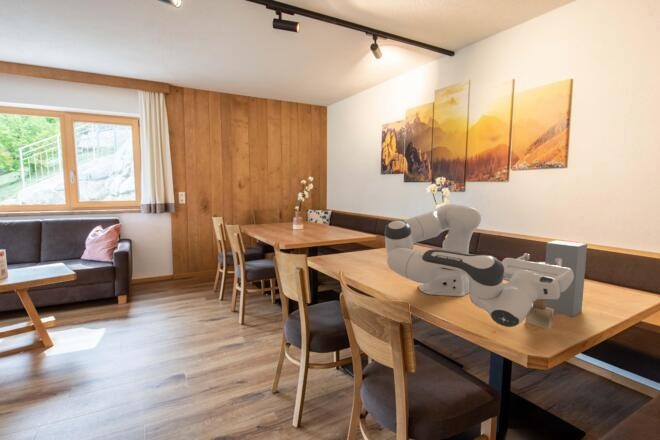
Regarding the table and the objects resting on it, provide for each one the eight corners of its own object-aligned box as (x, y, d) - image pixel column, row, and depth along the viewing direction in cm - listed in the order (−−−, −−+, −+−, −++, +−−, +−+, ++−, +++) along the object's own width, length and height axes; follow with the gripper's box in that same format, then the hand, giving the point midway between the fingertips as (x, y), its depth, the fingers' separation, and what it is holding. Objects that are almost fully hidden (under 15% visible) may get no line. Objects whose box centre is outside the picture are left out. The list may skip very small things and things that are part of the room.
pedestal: (572, 317, 121) (578, 246, 118) (541, 309, 129) (546, 242, 126) (581, 311, 127) (587, 243, 125) (551, 303, 135) (556, 240, 132)
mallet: (551, 279, 109) (556, 277, 111) (528, 274, 114) (533, 272, 117) (548, 329, 111) (552, 326, 113) (525, 322, 116) (530, 319, 119)
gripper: (494, 284, 113) (511, 259, 120) (564, 300, 97) (580, 271, 103) (490, 269, 110) (508, 245, 117) (562, 284, 94) (578, 255, 101)
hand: (542, 257), depth 110 cm, fingers open, 8 cm apart
